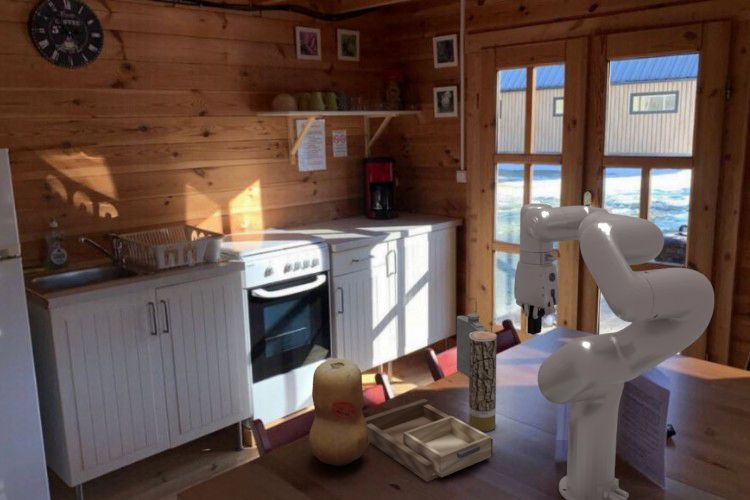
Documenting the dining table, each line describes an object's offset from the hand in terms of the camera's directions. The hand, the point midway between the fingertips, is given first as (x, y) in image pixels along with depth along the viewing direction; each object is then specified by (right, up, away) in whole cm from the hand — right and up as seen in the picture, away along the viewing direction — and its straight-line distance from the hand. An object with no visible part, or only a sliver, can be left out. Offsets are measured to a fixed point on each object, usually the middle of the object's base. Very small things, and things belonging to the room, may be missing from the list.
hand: (534, 332), depth 156 cm
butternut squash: (-46, -31, -1) cm, 55 cm away
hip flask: (-8, -20, +48) cm, 52 cm away
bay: (-25, -29, +6) cm, 39 cm away
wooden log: (-10, -27, +15) cm, 32 cm away
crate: (-21, -29, -1) cm, 35 cm away
